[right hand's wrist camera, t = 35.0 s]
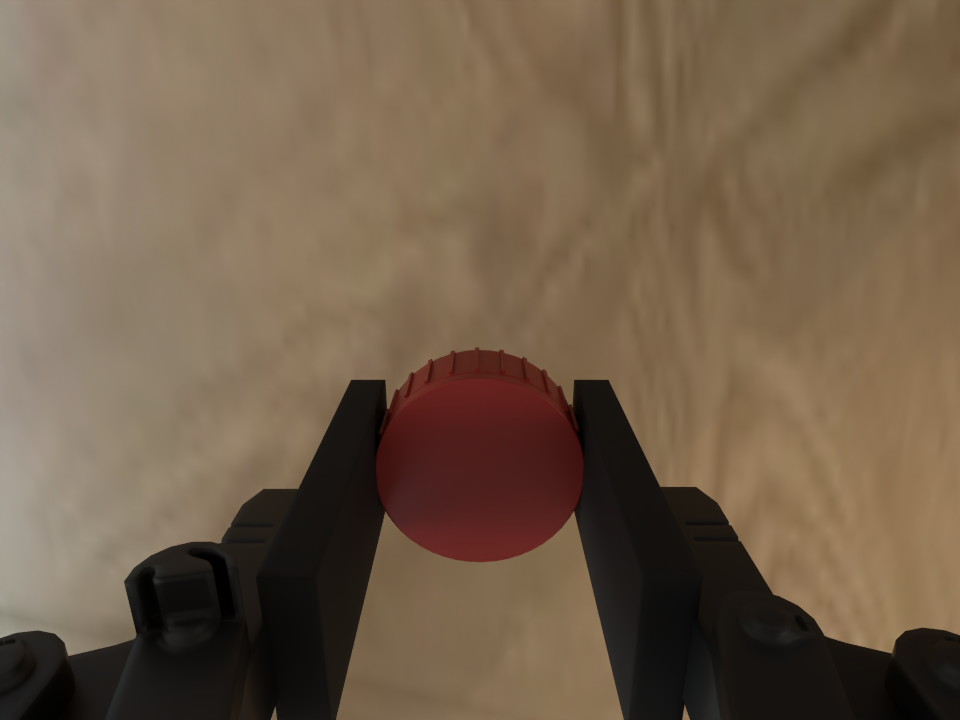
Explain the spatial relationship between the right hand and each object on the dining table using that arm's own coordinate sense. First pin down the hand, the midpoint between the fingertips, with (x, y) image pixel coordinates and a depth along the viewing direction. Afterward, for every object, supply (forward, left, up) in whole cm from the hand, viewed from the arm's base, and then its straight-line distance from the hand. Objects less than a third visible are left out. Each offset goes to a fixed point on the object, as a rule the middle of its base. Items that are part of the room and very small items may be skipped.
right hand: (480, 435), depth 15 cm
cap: (0, 0, +1) cm, 1 cm away
